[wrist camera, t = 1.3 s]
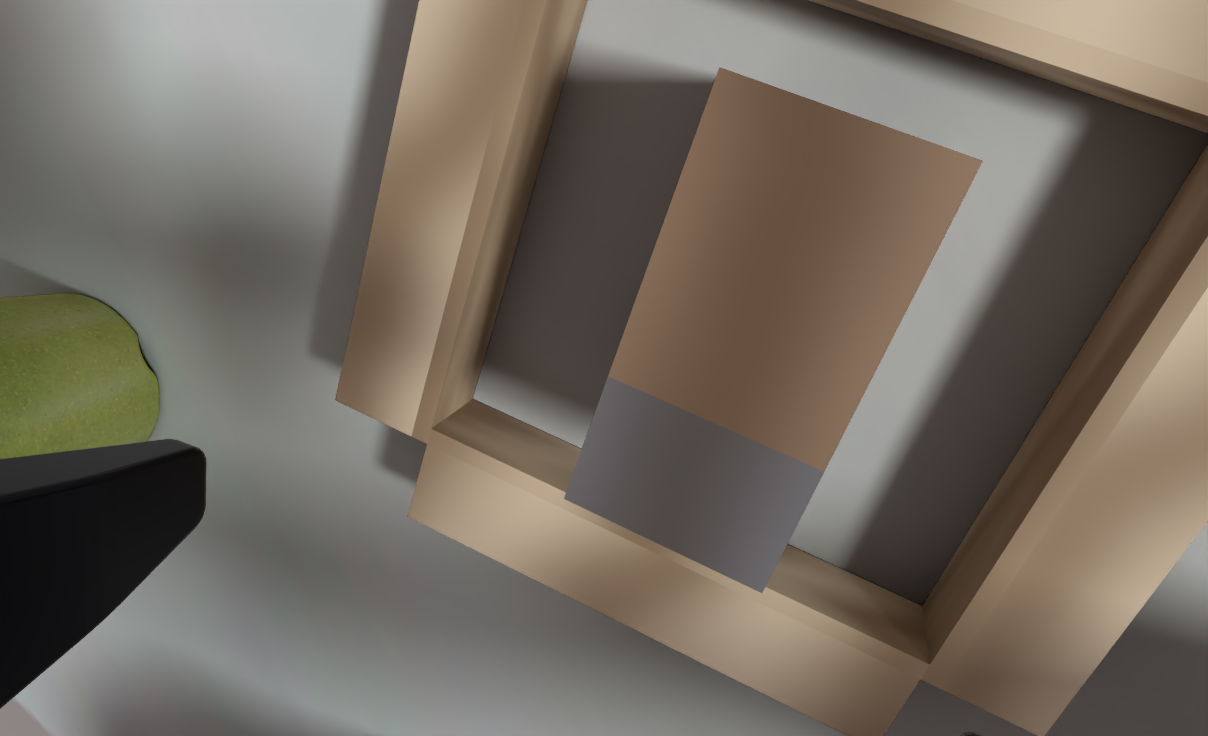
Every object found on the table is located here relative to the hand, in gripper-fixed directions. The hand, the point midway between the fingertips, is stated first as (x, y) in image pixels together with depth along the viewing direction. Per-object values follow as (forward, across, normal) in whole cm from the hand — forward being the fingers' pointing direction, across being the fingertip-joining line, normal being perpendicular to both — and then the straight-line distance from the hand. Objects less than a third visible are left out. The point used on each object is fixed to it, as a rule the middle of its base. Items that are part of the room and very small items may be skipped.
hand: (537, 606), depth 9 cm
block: (+13, -1, -1) cm, 13 cm away
